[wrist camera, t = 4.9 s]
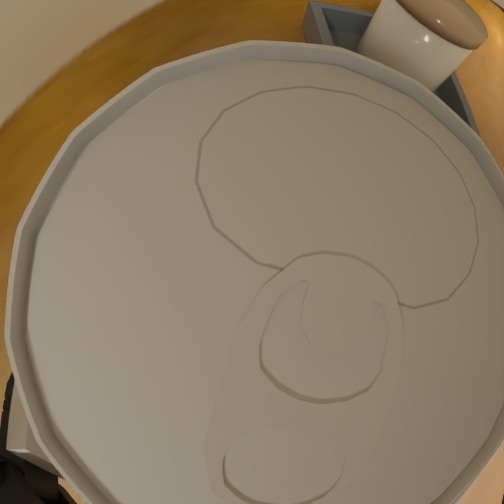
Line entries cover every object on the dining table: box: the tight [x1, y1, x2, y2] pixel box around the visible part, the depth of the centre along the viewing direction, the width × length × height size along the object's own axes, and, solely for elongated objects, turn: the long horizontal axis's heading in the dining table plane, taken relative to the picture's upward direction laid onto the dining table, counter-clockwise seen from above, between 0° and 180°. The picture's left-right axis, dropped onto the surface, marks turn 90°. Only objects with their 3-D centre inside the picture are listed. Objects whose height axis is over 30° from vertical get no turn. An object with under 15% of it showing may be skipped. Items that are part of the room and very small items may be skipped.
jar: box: [355, 0, 488, 92], centre depth 16 cm, size 7×7×9 cm
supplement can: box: [5, 40, 504, 504], centre depth 10 cm, size 8×8×15 cm
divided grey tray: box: [302, 1, 480, 137], centre depth 19 cm, size 12×23×3 cm, turn 3°
